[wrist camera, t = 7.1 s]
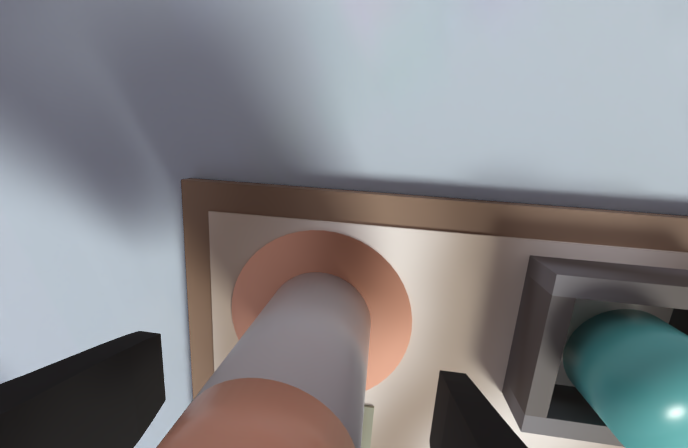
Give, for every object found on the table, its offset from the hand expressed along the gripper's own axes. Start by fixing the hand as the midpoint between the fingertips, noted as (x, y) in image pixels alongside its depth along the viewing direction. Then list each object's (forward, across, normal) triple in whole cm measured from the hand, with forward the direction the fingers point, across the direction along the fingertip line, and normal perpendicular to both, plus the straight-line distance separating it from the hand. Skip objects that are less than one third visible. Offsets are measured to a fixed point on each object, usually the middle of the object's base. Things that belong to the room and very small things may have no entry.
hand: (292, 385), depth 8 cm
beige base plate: (+4, -4, +2) cm, 6 cm away
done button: (+3, -9, 0) cm, 10 cm away
